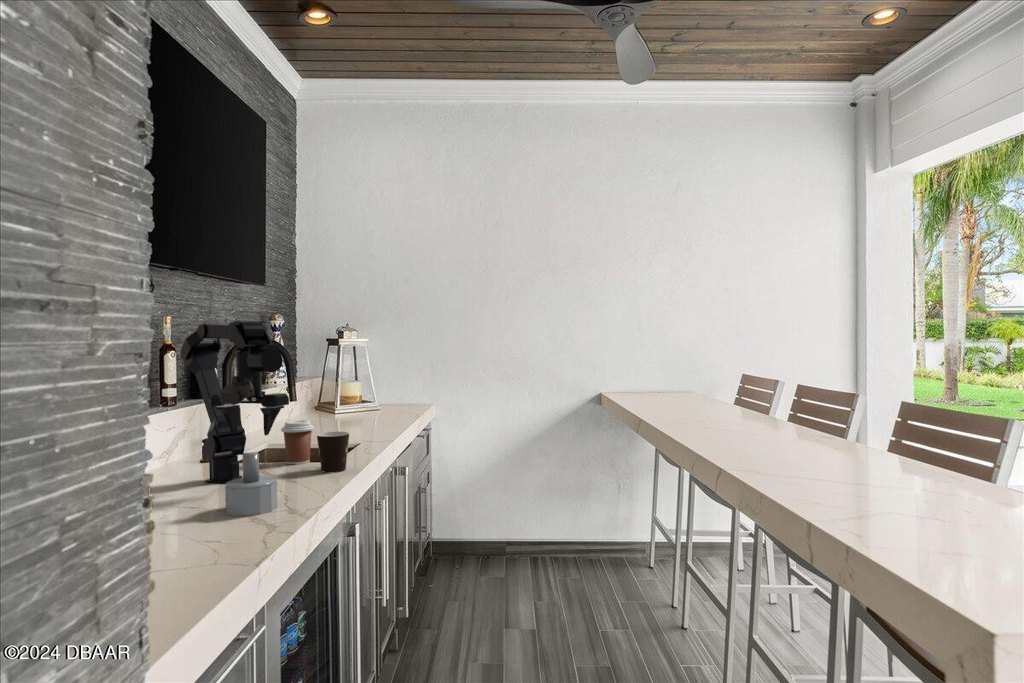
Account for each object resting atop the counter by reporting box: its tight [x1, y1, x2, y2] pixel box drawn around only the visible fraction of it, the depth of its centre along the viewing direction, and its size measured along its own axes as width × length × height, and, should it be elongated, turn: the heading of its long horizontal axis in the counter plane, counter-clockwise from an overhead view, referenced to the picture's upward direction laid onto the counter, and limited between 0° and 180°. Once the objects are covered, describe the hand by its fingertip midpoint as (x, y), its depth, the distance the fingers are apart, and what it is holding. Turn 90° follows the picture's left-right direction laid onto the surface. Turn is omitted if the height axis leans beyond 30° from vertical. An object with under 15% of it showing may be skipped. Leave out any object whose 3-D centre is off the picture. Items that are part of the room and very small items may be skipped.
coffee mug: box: [316, 431, 350, 473], centre depth 173 cm, size 12×9×10 cm
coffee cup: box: [280, 419, 315, 465], centre depth 183 cm, size 9×9×12 cm
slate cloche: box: [224, 451, 278, 517], centre depth 134 cm, size 10×10×12 cm
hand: (250, 434), depth 153 cm, fingers open, 9 cm apart
